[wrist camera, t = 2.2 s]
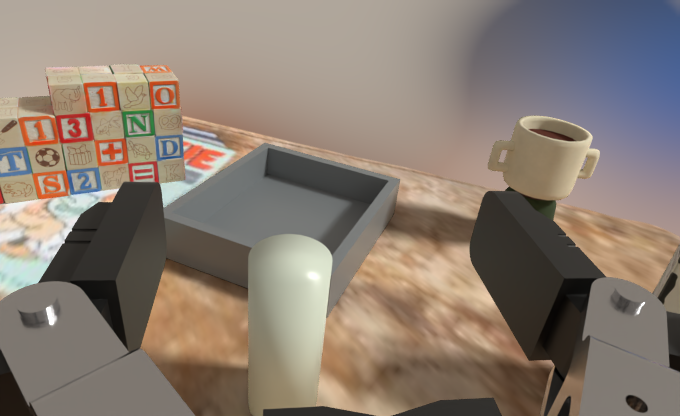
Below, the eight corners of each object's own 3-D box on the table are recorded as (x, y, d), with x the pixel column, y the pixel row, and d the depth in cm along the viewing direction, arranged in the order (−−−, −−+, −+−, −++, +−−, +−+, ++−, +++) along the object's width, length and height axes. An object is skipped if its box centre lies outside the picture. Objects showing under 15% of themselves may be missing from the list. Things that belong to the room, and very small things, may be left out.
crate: (159, 255, 44) (154, 214, 42) (264, 176, 60) (264, 142, 57) (326, 318, 39) (331, 275, 37) (393, 214, 55) (400, 179, 53)
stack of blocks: (-34, 211, 48) (-76, 89, 41) (-28, 182, 52) (-65, 69, 46) (187, 180, 57) (179, 78, 51) (175, 158, 62) (167, 62, 55)
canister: (234, 412, 31) (231, 267, 25) (269, 363, 35) (274, 225, 29) (297, 441, 30) (310, 296, 24) (327, 387, 34) (345, 248, 28)
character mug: (551, 224, 57) (591, 120, 50) (577, 261, 50) (627, 147, 44) (460, 217, 56) (489, 110, 49) (475, 253, 50) (511, 137, 43)
